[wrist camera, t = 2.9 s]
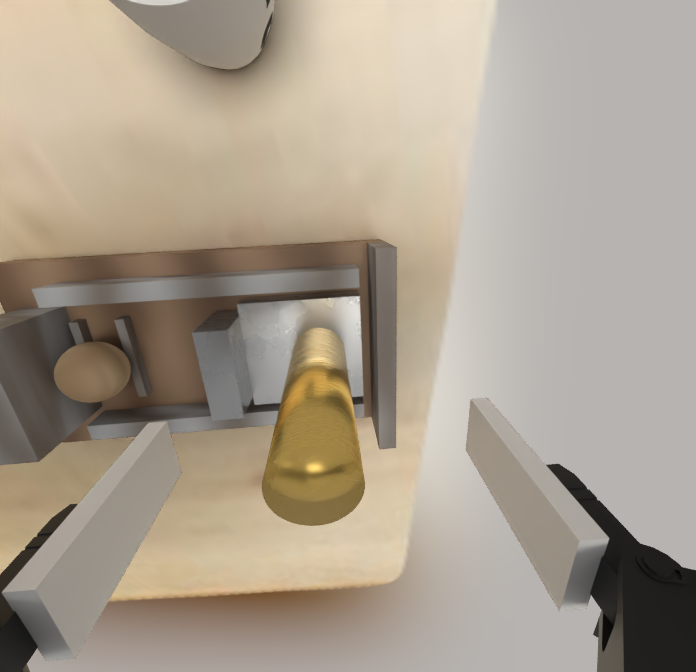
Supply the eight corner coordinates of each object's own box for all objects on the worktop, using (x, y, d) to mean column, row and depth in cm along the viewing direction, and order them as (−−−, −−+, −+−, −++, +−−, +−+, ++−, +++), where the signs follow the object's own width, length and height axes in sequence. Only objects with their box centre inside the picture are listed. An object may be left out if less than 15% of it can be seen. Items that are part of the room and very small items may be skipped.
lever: (232, 395, 25) (139, 580, 13) (213, 300, 22) (69, 413, 10) (361, 385, 26) (397, 554, 13) (357, 290, 23) (398, 386, 10)
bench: (80, 427, 28) (-9, 505, 20) (11, 260, 23) (-140, 283, 15) (381, 402, 29) (402, 468, 22) (379, 239, 24) (404, 251, 17)
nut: (93, 385, 24) (50, 417, 20) (74, 335, 23) (24, 358, 19) (148, 381, 24) (116, 412, 20) (133, 330, 23) (96, 353, 19)
